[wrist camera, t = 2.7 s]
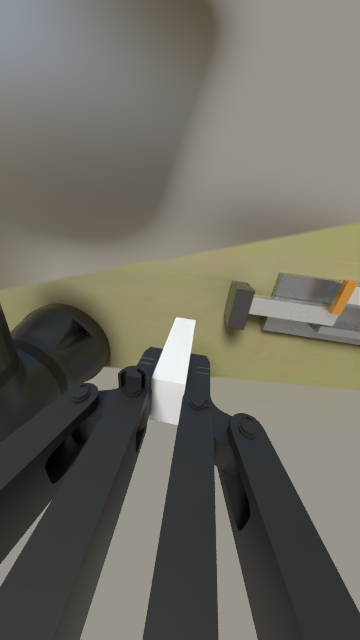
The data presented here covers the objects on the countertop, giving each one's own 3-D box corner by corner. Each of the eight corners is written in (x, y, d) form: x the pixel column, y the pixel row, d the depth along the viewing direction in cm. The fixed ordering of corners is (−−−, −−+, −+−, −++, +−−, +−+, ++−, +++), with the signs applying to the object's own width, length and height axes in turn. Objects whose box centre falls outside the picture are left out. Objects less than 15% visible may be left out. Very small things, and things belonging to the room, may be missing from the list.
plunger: (223, 314, 25) (226, 327, 21) (235, 263, 22) (241, 269, 18) (319, 328, 24) (340, 345, 20) (345, 278, 21) (375, 286, 17)
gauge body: (260, 326, 26) (270, 342, 22) (279, 272, 23) (295, 279, 19) (404, 348, 25) (442, 369, 21) (447, 294, 21) (503, 307, 17)
